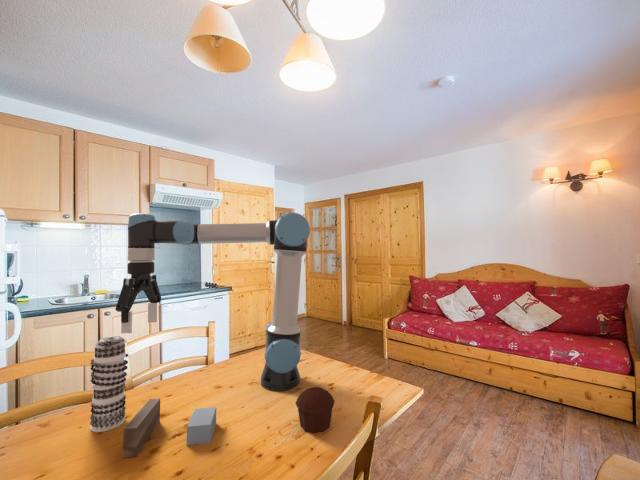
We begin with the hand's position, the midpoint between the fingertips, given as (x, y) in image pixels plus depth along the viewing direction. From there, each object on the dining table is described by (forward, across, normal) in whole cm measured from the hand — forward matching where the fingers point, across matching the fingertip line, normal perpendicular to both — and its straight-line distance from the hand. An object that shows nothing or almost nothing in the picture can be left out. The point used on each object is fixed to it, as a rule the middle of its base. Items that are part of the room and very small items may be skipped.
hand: (140, 327), depth 96 cm
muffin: (+27, +7, +57) cm, 63 cm away
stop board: (+27, +14, +10) cm, 32 cm away
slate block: (+27, +12, +25) cm, 39 cm away
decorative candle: (+27, +7, -5) cm, 28 cm away
